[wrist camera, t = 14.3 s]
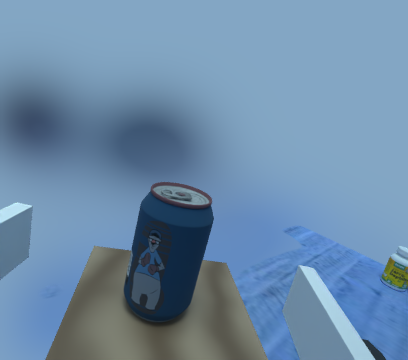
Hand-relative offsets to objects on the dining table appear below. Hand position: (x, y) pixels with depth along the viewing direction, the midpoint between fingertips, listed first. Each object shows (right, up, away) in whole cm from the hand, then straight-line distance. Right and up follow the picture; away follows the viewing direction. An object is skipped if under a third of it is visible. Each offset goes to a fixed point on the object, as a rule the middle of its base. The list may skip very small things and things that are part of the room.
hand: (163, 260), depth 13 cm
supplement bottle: (+48, -22, +53) cm, 75 cm away
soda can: (-3, -9, +15) cm, 17 cm away
